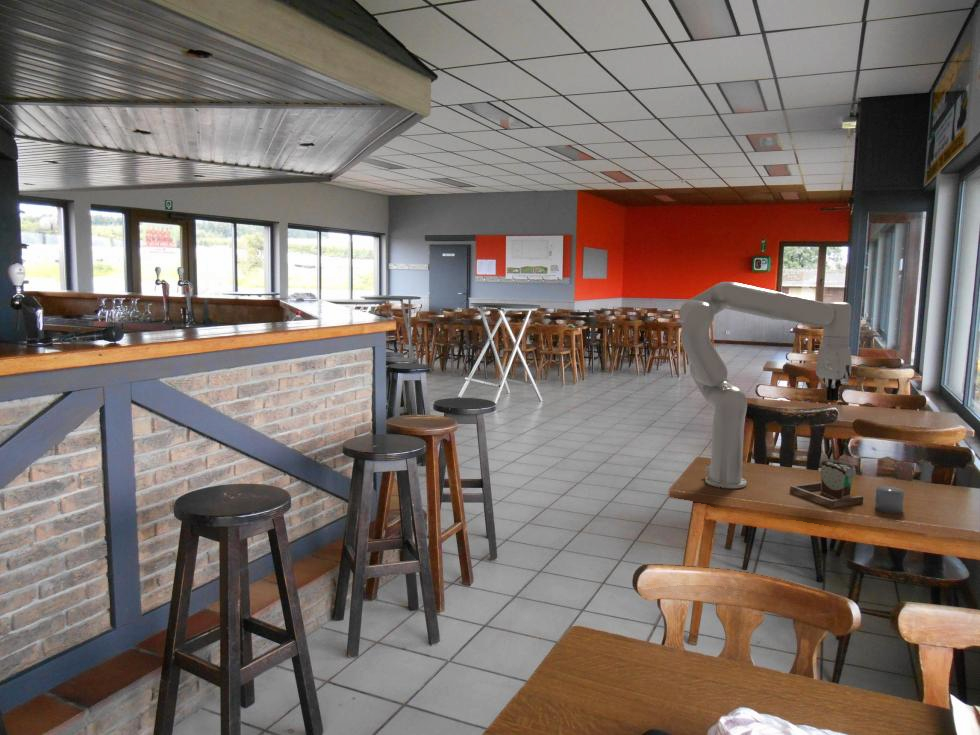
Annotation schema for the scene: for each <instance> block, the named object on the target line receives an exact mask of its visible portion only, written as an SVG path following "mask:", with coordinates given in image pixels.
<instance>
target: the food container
mask: <svg viewBox="0 0 980 735" xmlns="http://www.w3.org/2000/svg"><path fill="white" fill-rule="evenodd" d="M819 462H820V463H819V466H820V482H821V489H820V493H822V494H825V495H827V496H829V497H831V498H833V499H841V498H848V497H851V491H852V484H853V477H854V476H856V474H857V473H856V472H857V470H856V467H855V466H854V464H852V463H850V462H847V461H842V460H835V459H821V460H820V461H819Z"/></svg>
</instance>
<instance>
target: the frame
mask: <svg viewBox="0 0 980 735" xmlns="http://www.w3.org/2000/svg"><path fill="white" fill-rule="evenodd" d="M789 487H790V488H789V493H791V494H793V495H797V496H798V497H802V498H803V499H807V500H810V501H811V502H815V503H817V504H820V505H822V506H825V507H828V508H830V507H831V508H830V509H833V508H835V509H836V508H840V507H848V506H854V505H861V504H863V503H864V496H863V495H855V496H850V497H848V498H841V499H835V498H833V499H831V498H828V497H824V496H822V495H819V494H817V493H814V492H812V491H819V490H820V491H821V481H818V482H812V483H811V482H810V483H804V484H803V483H802V484H797V485H796V484H795V485H790V486H789Z"/></svg>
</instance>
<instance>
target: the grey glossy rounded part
mask: <svg viewBox="0 0 980 735" xmlns="http://www.w3.org/2000/svg"><path fill="white" fill-rule="evenodd" d="M875 488H876V489H875V498H874V499H875V502H874V509H875V510H876V511H878V512H881V513H885V514H890V515H891V514H892V515H897V514H902V513H903V511H904V502H905V490H904V489H902V488H900V487H897V486H896V487H895V486H891V485H879V486H876V487H875Z"/></svg>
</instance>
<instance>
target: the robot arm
mask: <svg viewBox="0 0 980 735" xmlns="http://www.w3.org/2000/svg"><path fill="white" fill-rule="evenodd" d="M726 309H727V310H732V311H736V312H739V313H743V314H744V313H745V314H749V315H753V316H758V317H761V318H768V319H772V320H784V321H790V322H795V323H800V324H802V325H805V326H808V327H809V326H811V327H815V328H822V329H823V330H822V337H821V339H820V340H821V343H822V345H821V344H820V346H819V348H818V352H817V353H818V354H817V357H816V365H815V366H816V367H815V375H816V376H817V377H818V379H819V380H821V381H823V383H824V385H825V386H824V387H825V388H826V400H827V401H830V402H832V401H833V402H834V401H838V400H839V391H840V390H839V389H840V388H842V386H843V385H844V384H849V383H850V380H849V379H850V378H851V374H852V353H851V347H850V338H851V337H850V335H851V321H852V320H851V318H852V305H851V304H850V303H849V302H841V301H840V302H839V301H837V302H835V301H833V302H825V301H818V300H814V299H810V298H805V297H801V296H795V295H791V294H787V293H784V292H780V291H775V290H771V289H768V288H763V287H757V286H754V285H749V284H744V283H740V282H735V281H721V282H719V283H716V284H714V285H712V286H711V287H709V288H708V289H705V290H704V291H702V292H701V293H699V294H697V295H695V296H694V297H691V298H690V299H688V300H686V301H685V302H683V304H682V305H681V307H680V308H679V312H678V313H679V314H678V315H679V319H680V321H681V322H682V326H681V330H680V341H681V346H682V348H683V350H684V352H685V354H686V356H687V358H688V360H689V361H690V365H689V372H690V375H691V378H692V380H693V382H694V383H695V385H696V387H697V388H698V390H699V392H700V393H701V395H702V396H703V398H704V400H705V401H706V403H707V404H708V405H709V406H710V407H711V408H712V409H713V410H714V415H713V418H712V428H711V447H710V448H711V454H710V464H709V465H708V466H705V467H704V470H705V471H706V472H708V475H707V476H706V477H705V480H704V481H705V483H706V484H707V485H708V486H712V487H715V488H720V487H721V488H720V489H742V488H744V487H746V486H747V480H746V479H745V478H743V460H744V458H743V456H744V455H743V454H744V453H743V452H744V433H745V421H746V420H745V419H746V415H747V409H748V399H747V396H746V395H745V392H744V391H743V390H742V389H740V388H739V387H738V386H736V385H733V384H731V383H730V382H729V379H728V368H727V366H726V363H725V362H724V360H723V359H722V357H721V356H720V355H719V353H718V351H717V349H716V348H715V346H714V344H713V343H712V342H713V341H712V340H711V338H710V328H711V325H712V323H713V321H714V319H715V315H717V314H718V313H721V312H722V311H723V310H726Z"/></svg>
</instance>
